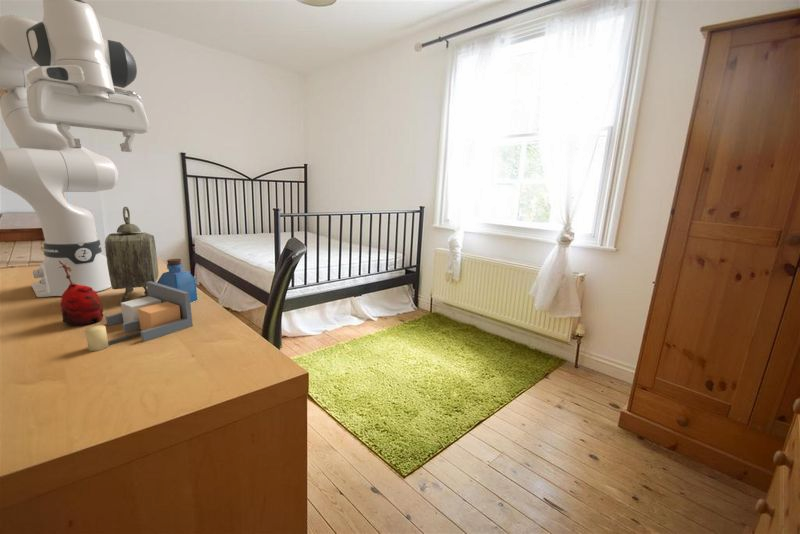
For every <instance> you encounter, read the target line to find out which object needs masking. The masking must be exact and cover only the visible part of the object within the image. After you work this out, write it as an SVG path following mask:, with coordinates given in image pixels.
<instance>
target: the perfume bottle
mask: <svg viewBox="0 0 800 534" xmlns="http://www.w3.org/2000/svg"><path fill="white" fill-rule="evenodd" d="M166 262H167V264H166V269H167V270H168V271H167V272H162V274H161V276H160V277H158V279H157V281H156V283H159V284H162V285H166V286H169V287H172V288H176V289H179V290H182V291H186V292H189V295H190V303H191V302H193V301H196V300H198V292H197V283H196V278H195V277H194V276H193V274H191V272H189V271H188V270H182V268H183V263H182V258H169V259H167V260H166ZM196 302H197V301H196ZM193 303H194V302H193ZM191 304H192V303H191Z"/></svg>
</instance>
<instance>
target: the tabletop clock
mask: <svg viewBox="0 0 800 534" xmlns="http://www.w3.org/2000/svg"><path fill="white" fill-rule="evenodd" d="M126 212H127V215H126ZM126 216H127V217H126ZM122 217H123V221H124V223H123V224H120V225H119V226H118V227H117V229H116V232H115V233H109V234H108V235H106V238H105V241H104V248H105V255H106V258H107V265H108V271H109V277H110V282H111V289H112V290H121V289H122V290H124V289H125V290H124V295H123V297H122V296H121V297H120V298H119V302H120V304H121V303H122V302H127V301H128V299H127V296H128V294H129V293H132V292H134V288H135V289H136V288H143V290H144V293H143V294H144V295H145V297H148V290H147V283H146V282H149V281H152V282H155V283H157V282H158V279H159V265H158V257H157V249H156V248H157V247H156V240H155V236H154V235H153V234H150V233H147V232H142V231H141V229H140V228H139V226H137V225H136V224H133V223H131V214H130V209H129V207H127V206H124V207H123V208H122Z"/></svg>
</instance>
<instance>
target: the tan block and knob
mask: <svg viewBox="0 0 800 534" xmlns="http://www.w3.org/2000/svg"><path fill="white" fill-rule="evenodd" d="M138 314H139V322H140V329H139V330H140V331H144V330H147V329H150V328H154V327H157V326H160V325H164V324H167V323H170V322H174V321H177V320H180V319H181V316H180V307H179V305H176V304H173V303H170V302H163V303H159V304H155V305H151V306H147V307H143V308H139V309H138ZM140 331H136V332H133V333H130V334H127V335H123V336H121V337H117V338H113V339H111V340H109V339H108V333H107V327H106V325H94V326H90V327H87V328H86V329H85V330H84V332H85V337H86V343H87V348H88V351H89V352H96V351H97V352H98V351H101V350H105V349H107V348H108V347H109V346H111V345H114V344H117V343H121V342H123V341H127V340H130V339H133V338H137V337H141V332H140Z"/></svg>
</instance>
